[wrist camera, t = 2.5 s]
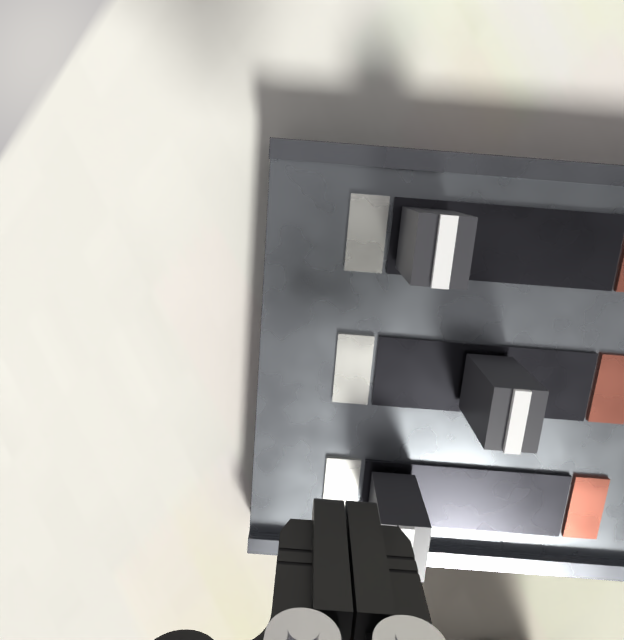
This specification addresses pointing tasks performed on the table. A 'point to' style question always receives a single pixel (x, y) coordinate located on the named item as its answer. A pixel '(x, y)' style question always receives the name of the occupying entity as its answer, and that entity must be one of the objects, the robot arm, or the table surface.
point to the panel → (444, 351)
